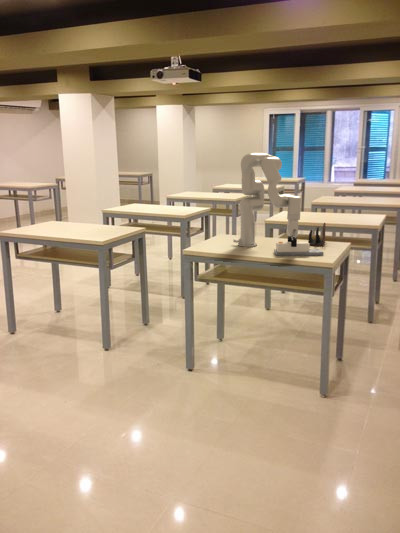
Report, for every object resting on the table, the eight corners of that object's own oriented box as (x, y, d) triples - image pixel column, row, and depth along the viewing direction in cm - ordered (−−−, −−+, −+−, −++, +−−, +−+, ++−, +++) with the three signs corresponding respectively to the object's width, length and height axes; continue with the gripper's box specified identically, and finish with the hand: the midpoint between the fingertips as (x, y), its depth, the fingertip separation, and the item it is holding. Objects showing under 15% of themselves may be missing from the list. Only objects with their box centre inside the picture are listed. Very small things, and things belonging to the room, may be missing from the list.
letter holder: (325, 241, 337) (326, 221, 334) (323, 246, 319) (324, 225, 316) (310, 240, 340) (311, 220, 337) (307, 246, 322) (308, 224, 318)
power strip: (277, 252, 293) (278, 242, 291) (276, 250, 298) (276, 241, 297) (309, 251, 293) (309, 242, 292) (306, 249, 299) (307, 240, 298)
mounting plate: (276, 256, 291) (277, 249, 290) (273, 252, 301) (274, 245, 300) (323, 255, 292) (323, 248, 291) (318, 252, 302) (319, 245, 301)
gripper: (284, 214, 299) (282, 242, 304) (290, 219, 283) (288, 248, 287) (296, 214, 300) (294, 242, 304) (303, 219, 283) (301, 248, 287)
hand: (291, 245), depth 295 cm, fingers open, 9 cm apart
